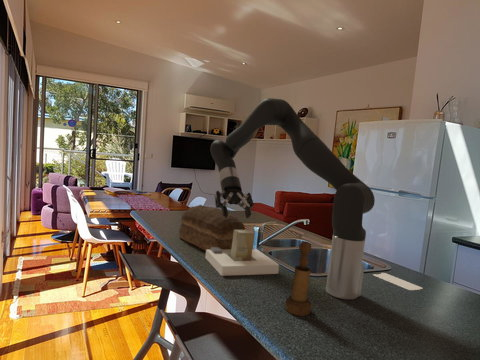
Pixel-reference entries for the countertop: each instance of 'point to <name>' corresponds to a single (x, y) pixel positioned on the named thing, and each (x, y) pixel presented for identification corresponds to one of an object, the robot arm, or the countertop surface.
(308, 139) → the robot arm
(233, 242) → the skincare box
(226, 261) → the socket plate
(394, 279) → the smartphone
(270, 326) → the countertop surface
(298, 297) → the brown wooden tall piece
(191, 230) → the bread
